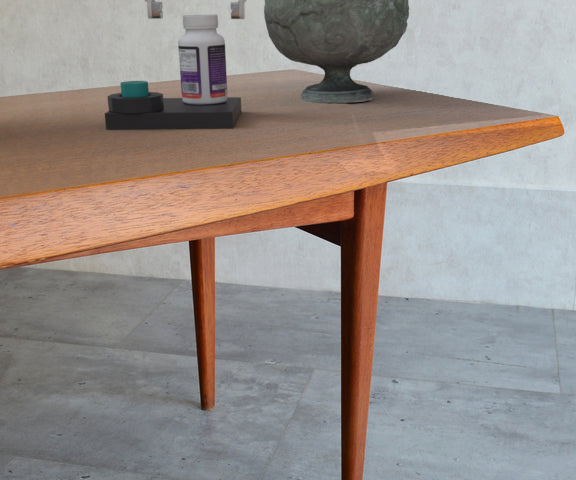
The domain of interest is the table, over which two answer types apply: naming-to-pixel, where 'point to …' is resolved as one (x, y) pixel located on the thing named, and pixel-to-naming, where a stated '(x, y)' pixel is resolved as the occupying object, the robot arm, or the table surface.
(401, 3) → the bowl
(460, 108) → the table surface
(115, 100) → the scale
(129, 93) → the button
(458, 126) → the table surface
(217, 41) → the pill bottle
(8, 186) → the table surface
